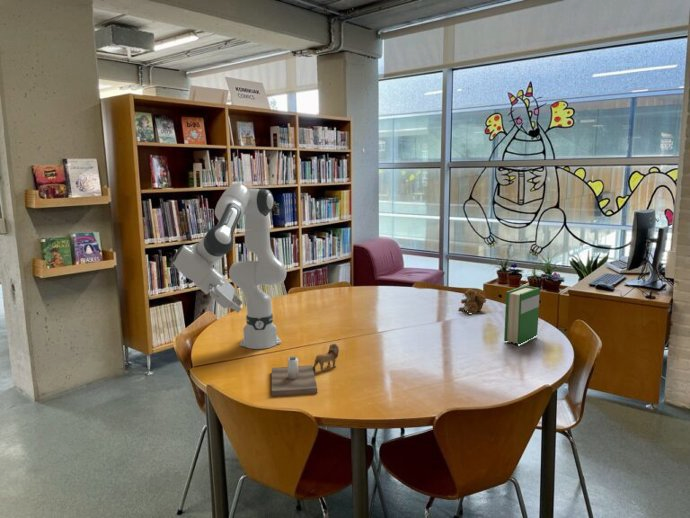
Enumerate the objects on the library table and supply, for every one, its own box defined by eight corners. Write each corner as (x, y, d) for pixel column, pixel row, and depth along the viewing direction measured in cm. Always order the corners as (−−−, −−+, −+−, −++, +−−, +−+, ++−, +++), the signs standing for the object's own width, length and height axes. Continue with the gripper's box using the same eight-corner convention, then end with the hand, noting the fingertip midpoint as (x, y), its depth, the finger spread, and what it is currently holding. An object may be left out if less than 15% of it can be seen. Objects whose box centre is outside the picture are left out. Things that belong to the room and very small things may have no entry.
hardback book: (519, 346, 225) (521, 294, 221) (504, 342, 230) (506, 291, 226) (537, 337, 237) (539, 288, 233) (522, 334, 242) (524, 285, 238)
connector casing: (287, 375, 190) (287, 355, 188) (298, 374, 190) (297, 354, 189) (288, 379, 186) (287, 359, 184) (298, 379, 186) (298, 358, 185)
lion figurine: (331, 362, 209) (331, 341, 207) (342, 364, 205) (341, 343, 204) (308, 373, 197) (308, 351, 196) (319, 376, 194) (318, 353, 192)
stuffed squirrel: (457, 310, 286) (457, 287, 284) (478, 308, 291) (479, 285, 288) (466, 314, 277) (467, 291, 275) (488, 312, 281) (489, 289, 279)
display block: (271, 372, 198) (271, 367, 197) (312, 370, 200) (312, 365, 200) (272, 396, 176) (271, 391, 176) (317, 393, 179) (317, 387, 178)
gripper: (214, 281, 169) (245, 308, 172) (220, 270, 189) (247, 294, 192) (201, 295, 170) (232, 321, 173) (208, 282, 190) (236, 306, 193)
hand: (240, 307), depth 183 cm, fingers open, 8 cm apart
